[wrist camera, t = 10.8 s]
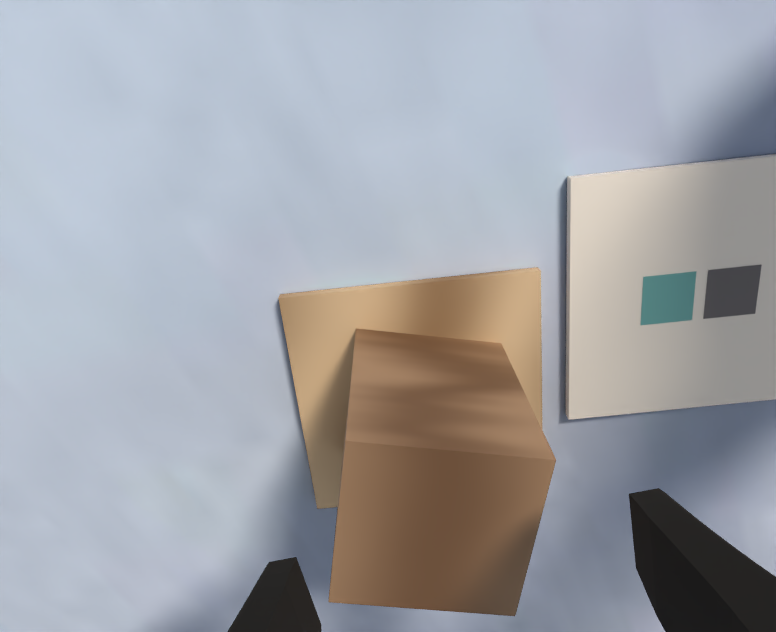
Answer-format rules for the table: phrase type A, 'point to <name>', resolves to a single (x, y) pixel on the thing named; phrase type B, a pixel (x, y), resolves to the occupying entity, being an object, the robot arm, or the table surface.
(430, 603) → the walnut block
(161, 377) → the table surface
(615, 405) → the card
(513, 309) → the cork mat
